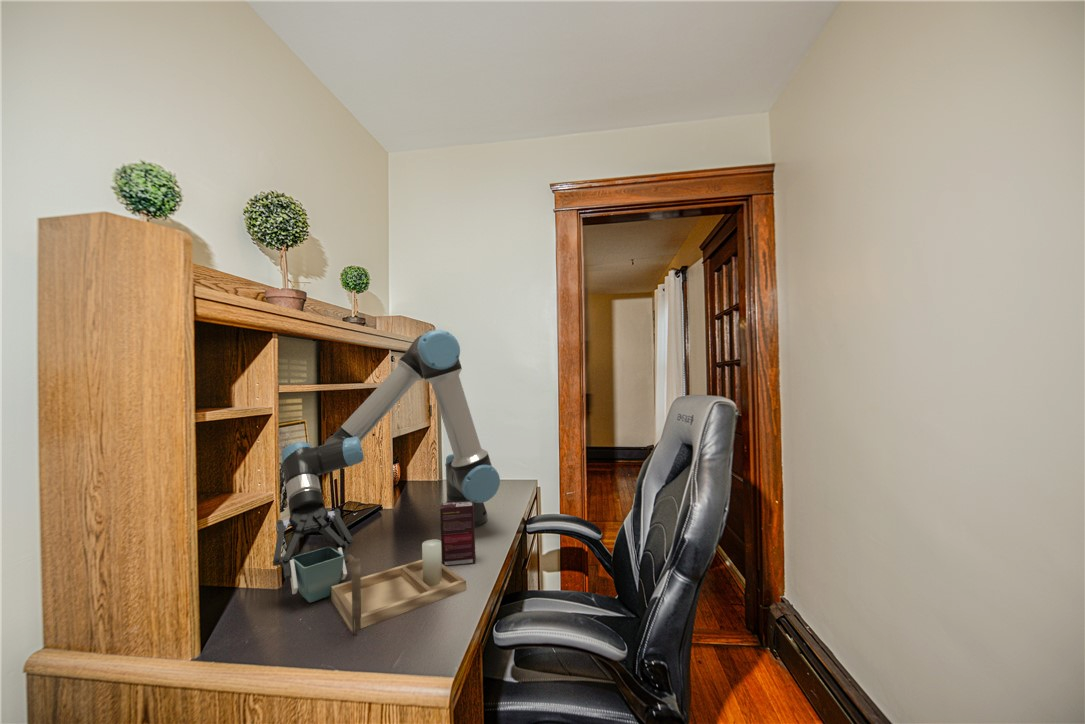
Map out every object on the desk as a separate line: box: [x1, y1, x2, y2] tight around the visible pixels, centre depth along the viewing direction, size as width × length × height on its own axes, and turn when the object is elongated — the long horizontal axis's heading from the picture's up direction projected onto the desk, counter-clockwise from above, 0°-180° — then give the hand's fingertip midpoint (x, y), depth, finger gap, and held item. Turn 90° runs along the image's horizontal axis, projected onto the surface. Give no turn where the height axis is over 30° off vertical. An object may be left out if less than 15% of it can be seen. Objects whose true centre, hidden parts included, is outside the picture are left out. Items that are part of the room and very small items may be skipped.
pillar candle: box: [421, 539, 442, 586], centre depth 104 cm, size 4×4×9 cm
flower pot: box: [290, 546, 344, 603], centre depth 101 cm, size 9×9×9 cm
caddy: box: [330, 553, 467, 637], centre depth 99 cm, size 24×18×14 cm
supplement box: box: [439, 501, 477, 568], centre depth 115 cm, size 9×5×16 cm, turn 98°
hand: (320, 583), depth 98 cm, fingers closed on flower pot, 9 cm apart
